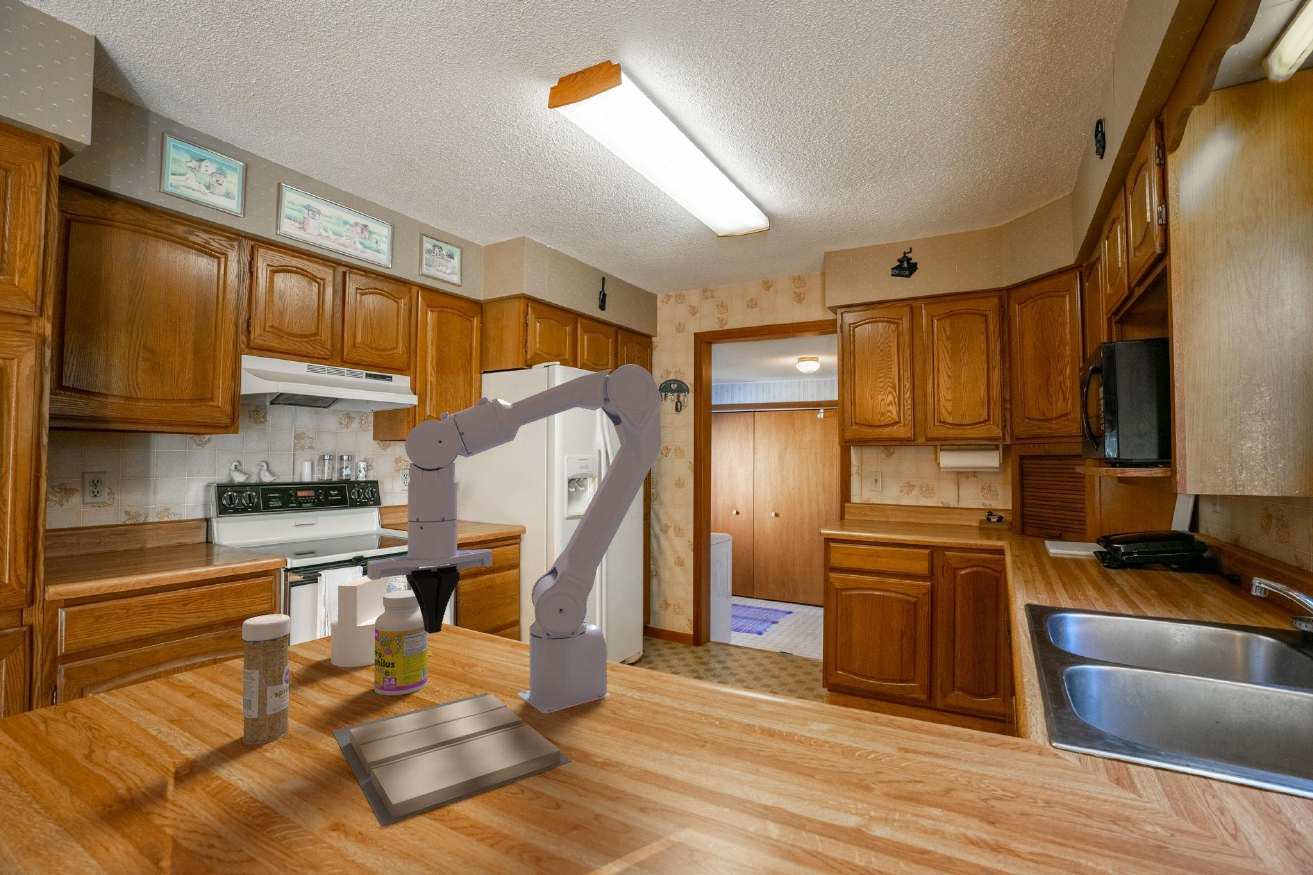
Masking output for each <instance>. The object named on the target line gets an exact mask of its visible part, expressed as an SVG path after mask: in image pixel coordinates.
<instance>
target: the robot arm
mask: <svg viewBox="0 0 1313 875" xmlns="http://www.w3.org/2000/svg"><path fill="white" fill-rule="evenodd" d="M611 371H612V369H611V368H610V369H604V370H600V371H596V372H592V373H589V374H584V375H581V376H578V377H576V378H573V379H570V380H568V381H565V382H562V383H561V384H559V385H555V386H553V387H550V388H548V389H545V390H543V391H540V392H539V393H535V394H533V395H531V396H527V397H525V398H523V399H521V400H518V401H516V402H513V403H511V402H510V403H509V402H507V401H505V400H503V399H501V398H493V399H490V400H489V398H488V397H487V396H484V397H481V398H479V399H477V401H476V402H477V404H476V405H473V406H471V407H468V408H465V409H463V410H459V411H456V412H454V413H451V414H449V412H448V411H446V412H442V413H440V414H439V417H440V420H441V421H439V420H435V419H426V420H424V421H423V422H421V423H419V424H417V425H416V426H414V427H413V428H412V429H411V430H410V431H409V433H408V434H407V436H406V439H405V443H404V448H405V453H406V456H407V457H408V459H409V460H410V461H411V462H410V463H409V468H408V477H409V482H408V483H407V555H402V556H394V557H388V558H383V559H382V558H381V559H374V560H368V561H367V568H366V569H367V577H368V578H369V579H371V580H376V579H381V578H383V577H387V578H391V577H399V576H405V578H406V581H407V582H408V584H409V586H410V588H411V590H413V592H414V594H415V597H416V599H417V602H418V604H419V609H420V610H421V614H422V618H423V623H424V629H425V631H426V632H428V635H429V634H431V635H432V634H437V633H441V632H442V626H443V622H444V617H445V613H446V610H447V608H448V607H447V606H449V602H450V599H451V597H452V595H453V593H454V590H455V589H456V587H457V585H458V583H459V581H460V577H461V576H460V575H461V573H460V572H459V571H457V570H458V569H465V568H466V569H467V568H474V567H492V566H493V550H491V549H488V548H483V549H471V550H470V549H468V550H458V519H457V518H458V482H457V480H456V462H455V460H456V459H457V458H458V456H462V457H464V458H465V459H466V458H470V457H472V456H475V455H477V454H480V453H483V452H486V451H489V450H491V449H493V448H497V447H499V446H502V445H505V444H506V443H510V442H512V441H514V440H515V438H516V436H517V434H518V432H519V429H520V428H521V427H523V426H525V425H529V424H531V423H534V422H537V421H539V420H542V419H546V418H548V417H551V416H554V415H557V414H559V413H564V412H566V411H569V410H572V409H575V408H579V409H580V408H581V409H585V410H589V411H590V410H591V411H597V410H600V409H601V410H602V411H603V412H604V414H605V415H606V416H607V418H608V419H609V420H610V421H611V423H612V424H613V427H614V430H615V433H616V436H617V438H618V440H619V444H620V446H619V449H618V450H617V452H616V454H615V456H614V458H613V459H612V462H610V465H609V467H608V469H607V471H606V473H605V475H604V476H603V478H602V479H601V482H600V484H599V485H598V488H597V490H596V491H595V493H594V495H593V496H592V499H591V500H590V502H589V503H588V506H587V508H586V510H585V511H584V513H583V515H582V517H581V518H580V520H579V522H578V524H577V526H576V528H575V530H574V532H573V534H572V535H571V537H570V539H569V541H568V543H567V544H566V546H565V548H564V550H562V552H561V553H560V554H559V555H558V557H557V558H556V559H555V561H554V563H553V565H552V566H551V568H550V569H549V570H548V571H547V572H546V573H544V574H542V575H541V576H540V577H539V578H538V579H537V580H536V582H535V583H534V585H533V586H532V590H531V603H532V604H533V605H532V606H533V608H534V618H535V620H534V622H533V623H532V624H531V625H530V626H529V630H528V631H529V689H528V690H524V691H521V692H518V693H517V696H519V698H521V699H523V700H524V701H525V702H527V703H528V704H529V705H530V706H532V707H533V708H535V709H536V710H537V711H539V712H541V713H542V714H550V713H554V712H557V711H561V710H564V709H568V708H571V707H572V708H573V707H575V706H577V705H578V706H579V705H582V704H587V703H589V702H593V701H597V700H600V699H604V698H606V697H610V696H611V694H610V693H609V692H608V688H607V687H608V686H607V685H608V675H607V674H608V671H607V670H608V666H607V664H608V662H607V660H608V658H607V657H608V656H607V655H608V653H607V652H608V650H607V643H606V638H605V635H604V632H603V631H602V629H601V628H600V627H599V626H598V625H596V624H595V623H586V621H585V618H586V616H587V610H588V609H587V608H588V607H587V605H588V599H589V596H590V594H591V591H592V589H593V587H594V584H595V579H596V575H597V571H598V568H599V566H600V564H601V562H602V560H603V559H604V556H605V554H606V552H608V550H609V547H610V545H611V543H612V541H613V539H614V537H615V536H616V534H617V532H618V529H619V528H620V526H621V524H622V523H623V520H624V518H625V516H626V515H627V514H628V512H629V509H630V507H631V505H632V503H633V502H634V499H635V498H636V496H637V495H638V492H639V490H640V489H641V487H642V485H643V483H644V481H645V479H646V477H647V475H648V474H649V472H650V470H651V468H652V466H653V465H654V462H655V461H656V458H657V457H658V455H659V453H660V450H661V446H662V434H661V432H662V431H661V429H662V428H661V411H660V410H661V403H662V395H661V392H660V390H659V388H658V386H657V384H656V381H655V379H654V377H653V375H652V374H651V373H650V372H649V370H647V369H646V368H644V367H643V366H640V365H637V364H629V363H628V364H624V365H621V366H620V367H618V368H617V369H615V370H614V371H613V372H612V373H610V372H611ZM609 373H610V374H609ZM608 374H609V375H608Z"/></svg>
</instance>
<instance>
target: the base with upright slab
mask: <svg viewBox="0 0 1313 875" xmlns="http://www.w3.org/2000/svg"><path fill="white" fill-rule="evenodd" d="M387 581H388V577H383V578H381V579H376V580H371V579H369V578H368V577H367V575H364V576H361V577H358V578H354V579H352V580H349V581H347V582H343V583H341V584H338V585H337V617H335V618H333V619H332V620H331V621H330V663H331V664H332V665H333V666H336V665H337V667H343V668H356V667H364V666H370V665H375V621H376V619H377V618H378V616H379V615H381V614H382V613H384V612H385V607H384V605H383V595H385V594H387V593H388V592H387V591H388V588H387V587H388V582H387Z"/></svg>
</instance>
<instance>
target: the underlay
mask: <svg viewBox="0 0 1313 875" xmlns="http://www.w3.org/2000/svg"><path fill="white" fill-rule="evenodd" d="M487 695H489V694H488V693H487V692H484V693H481V694H477V695H472V696H469V697H464V698H460V699H457V700H452V701H451V700H450V701H447V702H444V703H439V704H436V705H432V706H427V707H424V708H420V709H415V710H410V711H407V712H402V713H399V714H398V713H397V714H394V715H391V716H388V717H382V718H379V719H378V718H377V719H375V720H370V721H365V722H361V723H358V724H354V725H349V726H347V727H346V726H345V727H342V728H338V729H333V730H331V733H332V734H333V736H334V738H335V741H336V742H337V744H338V746H339V748H340V749H341V751H342V753H343V755H344V757H345V760H346V761H347V763H348V765H349V767H350V769H351V771H352V773H353V775H354V776H355V778H356V780H357V782H358V784H359V786H360V787H361V790H362V791H363V793H364V795H365V797H366V799H367V801H368V803H369V805H370V806H371V809H372V810H373V813H374V814H375V816H376V819H377V820H378V823H379V824H380V826H381V827H384V826H387V825H390V824H393V823H396V822H398V821H401V820H405V819H408V818H410V817H413V816H416V815H419V814H422V813H424V812H428V811H431V810H434V809H437V808H439V807H442V806H445V805H449V804H451V803H454V802H457V801H460V800H462V799H463V800H464V799H466V798H469V797H472V796H474V795H478V794H480V793H483V792H486V791H489V790H492V789H495V788H497V787H500V786H503V785H507V784H510V783H512V782H513V783H514V782H515V781H518V780H519V781H520V780H521V779H525V778H527V777H530V776H533V775H535V774H536V775H537V774H539V773H542V772H545V771H548V770H550V769H553V768H556V767H559V766H563V765H565V764H569V763H571V762H572V760H571V759H570V758H569V757H567V756H566V755H565V754H563V753H562V752H561V751H560V762H559V763H556V764H553V765H550V766H547V767H544V768H541V769H538V770H535V771H532V772H529V773H526V774H523V775H520V776H518V777H515V778H512V779H509V780H506V781H503V782H500V783H497V784H494V785H491V786H488V787H485V788H482V789H479V790H476V791H473V792H470V793H467V794H464V795H461V796H458V797H455V798H452V799H450V800H447V801H444V802H441V803H438V804H435V805H432V806H429V807H426V808H423V809H420V810H417V811H414V812H411V813H408V814H405V815H402V816H399V817H396V818H392V817H391V815H390V813H389V811H388V810H387V808H386V806H385V804H384V802H383V801H382V799H381V797H380V795H379V794H378V792H377V790H376V788H375V787H374V785H373V783H372V781H371V774H369V775H368V774H367V772H366V770H365V768H364V767H363V765H362V763H361V761H360V759H359V757H358V755H357V753H356V751H355V750H354V748H353V746H352V744H351V742H350V729H353V728H357V727H362V726H366V725H370V724H374V723H378V722H382V721H386V720H390V719H394V718H398V717H402V716H406V715H410V714H414V713H418V712H422V711H426V710H430V709H434V708H438V707H442V706H446V705H450V704H454V703H458V702H463V701H467V700H471V699H475V698H479V697H483V696H487ZM523 723H524V722H523V721H522V724H523Z"/></svg>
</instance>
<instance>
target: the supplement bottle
mask: <svg viewBox="0 0 1313 875" xmlns="http://www.w3.org/2000/svg"><path fill="white" fill-rule="evenodd" d="M383 605H384V607H385V612H384V613H382V614H381V615H379V616H378V618H377V619H376V621H375V664H374V682H373V683H374V684H373V685H374V691H375V693H377V694H379V695H383V696H400V695H405V694H406V695H407V694H410V693H414V692H417V691H419V690H421V689H423V688H426V686H427V685H428V679H429V641H428V640H429V633H428V632H426V631H425V629H424V623H423V618H422V614H421V610H420V607H419V604H418V602H417V599H416V597H415V594H414V592H413V590H412V589H411V590H410V589H407V590H406V589H405V590H395V591H391V592H387V594H385V595H383Z"/></svg>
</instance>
